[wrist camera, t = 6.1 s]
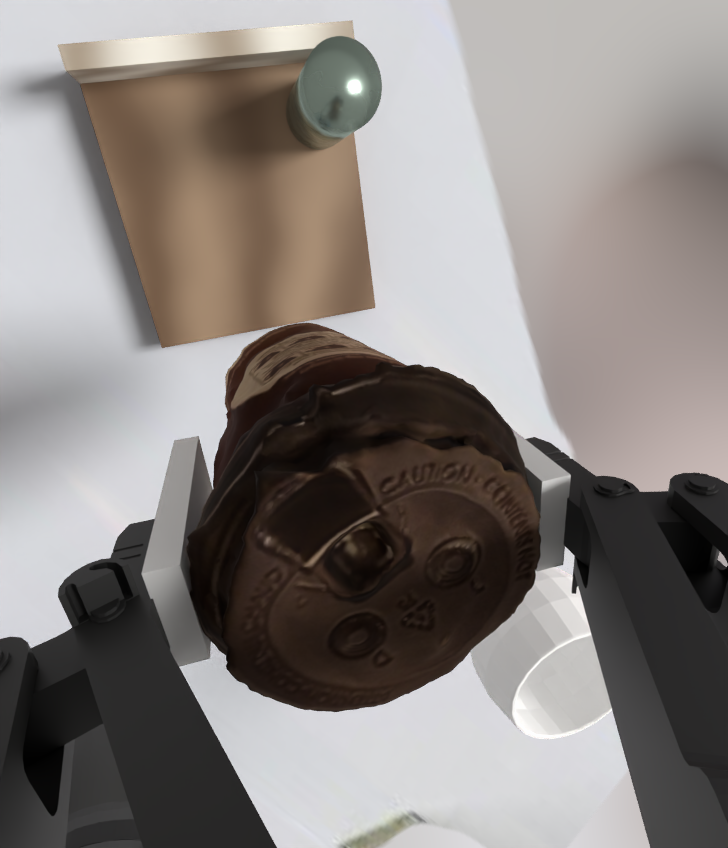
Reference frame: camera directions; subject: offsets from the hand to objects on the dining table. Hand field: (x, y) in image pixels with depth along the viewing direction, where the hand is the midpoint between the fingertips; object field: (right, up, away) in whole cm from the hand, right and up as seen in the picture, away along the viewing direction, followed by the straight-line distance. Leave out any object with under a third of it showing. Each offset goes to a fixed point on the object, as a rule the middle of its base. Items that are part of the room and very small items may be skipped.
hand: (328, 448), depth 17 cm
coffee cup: (-2, +2, +5) cm, 5 cm away
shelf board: (-6, +14, +13) cm, 21 cm away
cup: (+11, -11, +29) cm, 33 cm away
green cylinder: (-1, +19, +11) cm, 22 cm away
